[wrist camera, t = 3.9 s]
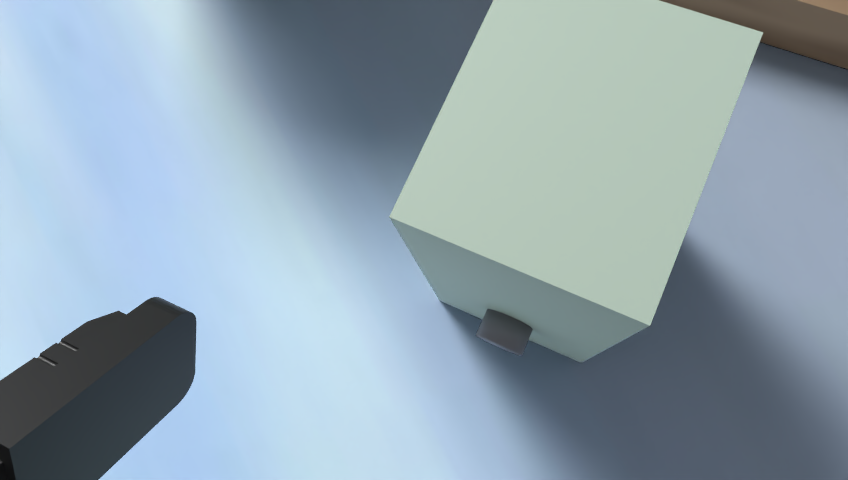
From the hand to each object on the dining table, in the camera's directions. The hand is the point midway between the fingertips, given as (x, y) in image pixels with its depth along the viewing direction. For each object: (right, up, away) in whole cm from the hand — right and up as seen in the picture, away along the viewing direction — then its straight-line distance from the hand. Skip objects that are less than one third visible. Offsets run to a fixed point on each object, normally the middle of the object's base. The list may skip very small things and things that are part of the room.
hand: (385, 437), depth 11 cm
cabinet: (+5, +3, +10) cm, 12 cm away
